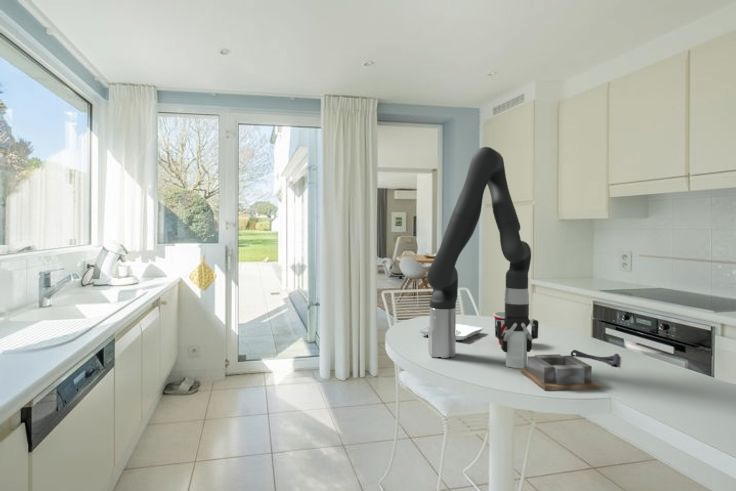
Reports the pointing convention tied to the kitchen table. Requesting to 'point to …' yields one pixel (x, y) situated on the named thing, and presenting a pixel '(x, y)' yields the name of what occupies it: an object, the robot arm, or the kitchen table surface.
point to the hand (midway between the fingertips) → (516, 351)
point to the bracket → (603, 359)
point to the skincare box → (516, 350)
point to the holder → (559, 372)
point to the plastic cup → (500, 317)
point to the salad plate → (464, 329)
